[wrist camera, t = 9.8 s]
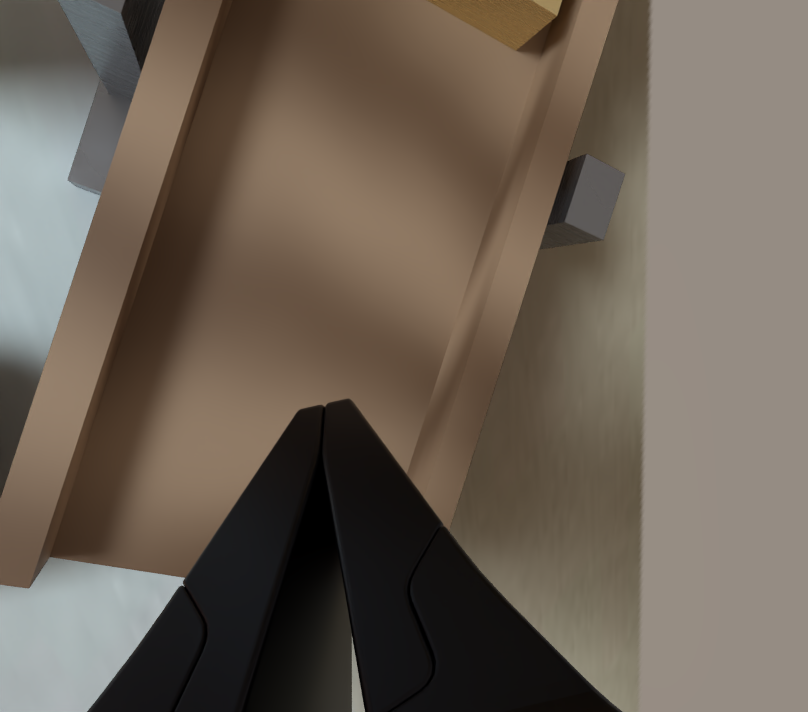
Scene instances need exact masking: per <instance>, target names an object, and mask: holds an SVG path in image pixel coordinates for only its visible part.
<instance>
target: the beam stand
mask: <svg viewBox="0 0 808 712" xmlns="http://www.w3.org/2000/svg"><path fill="white" fill-rule="evenodd" d="M58 1H59V3H60V5H61V7H62V9H63V11H64V12H65V14H66V16H67V18H68V20H69V22H70V23H71V25H72V27H73V29H74V31H75V33H76V35H77V36H78V38H79V40H80V42H81V44H82V46H83V47H84V49H85V51H86V53H87V55H88V57H89V58H90V60H91V62H92V64H93V66H94V68H95V69H96V71H97V73H98V75H99V77H100V82H99V85H98V88H97V91H96V94H95V97H94V100H93V103H92V107H91V110H90V113H89V116H88V119H87V122H86V125H85V128H84V131H83V134H82V137H81V140H80V143H79V146H78V149H77V152H76V155H75V158H74V162H73V165H72V168H71V171H70V174H69V177H68V181H69V182H71V183H72V184H73V185H75V186H76V187H79V188H82V189H85V190H87V191H90V192H93V193H96V194H99V195H101V193H102V190H103V187H104V184H105V181H106V178H107V174H108V171H109V168H110V165H111V162H112V159H113V156H114V153H115V150H116V147H117V144H118V141H119V138H120V135H121V132H122V129H123V126H124V123H125V120H126V117H127V114H128V111H129V108H130V105H131V102H132V99H133V96H134V93H135V90H136V87H137V84H138V81H139V78H140V75H141V72H142V69H143V66H144V62H145V59H146V56H147V53H148V50H149V47H150V44H151V41H152V38H153V35H154V32H155V29H156V26H157V23H158V20H159V17H160V14H161V11H162V8H163V5H164V2H165V0H58ZM624 176H625V174H624V173H622V172H620V171H619V170H617V169H615V168H613V167H611V166H609V165H607V164H605V163H603V162H602V161H600V160H598V159H596V158H594V157H592V156H590V155H588V154H585V155H582V156H580V157H577V158H575V159H572V160H569V161H567V163H566V166H565V169H564V173H563V176H562V179H561V182H560V185H559V188H558V191H557V194H556V198H555V201H554V204H553V207H552V210H551V213H550V216H549V219H548V223H547V226H546V229H545V232H544V235H543V238H542V241H541V245H540V248H539V249H546V248H553V247H559V246H566V245H573V244H580V243H587V242H593V241H600V240H604V237H605V234H606V231H607V228H608V225H609V222H610V219H611V216H612V213H613V209H614V206H615V203H616V200H617V197H618V194H619V191H620V188H621V185H622V182H623V179H624Z"/></svg>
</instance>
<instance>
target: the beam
mask: <svg viewBox="0 0 808 712" xmlns="http://www.w3.org/2000/svg"><path fill="white" fill-rule="evenodd" d="M617 3H618V0H562V2H561V5H560V9H559V12H558V15H557V17H555V18H554V19H553V20H552V21H551V22H549V23H548V24H547V25H546V26H545V27H543V28H542V29H541V30H540V31H539V32H538V33H536V34H535V35H534V36H533V37H532V38H530V39H529V40H528V41H527V42H526V43H525V44H523V45H522V46H521V47H520V48H519V49H517V50H516V51H515V50H513V49H511V48H510V47H508V46H506V45H504V44H502V43H501V42H499V41H497V40H495V39H494V38H492V37H490V36H488V35H487V34H485V33H483V32H481V31H480V30H478V29H476V28H474V27H473V26H471V25H469V24H467V23H466V22H464V21H462V20H460V19H459V18H457V17H455V16H453V15H451V14H450V13H448V12H446V11H444V10H443V9H441V8H439V7H437V6H436V5H434V4H432V3H430V2H429V1H427V0H165V2H164V5H163V8H162V11H161V14H160V17H159V20H158V23H157V26H156V29H155V32H154V35H153V38H152V41H151V44H150V47H149V50H148V53H147V56H146V59H145V62H144V66H143V69H142V72H141V75H140V78H139V81H138V84H137V87H136V90H135V93H134V96H133V99H132V102H131V105H130V108H129V111H128V114H127V117H126V120H125V123H124V126H123V129H122V132H121V135H120V138H119V141H118V144H117V147H116V150H115V153H114V156H113V159H112V162H111V165H110V168H109V171H108V174H107V178H106V181H105V184H104V187H103V190H102V193H101V196H100V199H99V202H98V205H97V208H96V211H95V214H94V217H93V220H92V223H91V226H90V229H89V232H88V235H87V238H86V241H85V244H84V247H83V250H82V253H81V256H80V259H79V262H78V265H77V268H76V271H75V274H74V277H73V280H72V283H71V286H70V290H69V293H68V296H67V299H66V302H65V305H64V308H63V311H62V314H61V317H60V320H59V323H58V326H57V329H56V332H55V335H54V338H53V341H52V344H51V347H50V350H49V353H48V356H47V359H46V362H45V365H44V368H43V371H42V374H41V377H40V380H39V383H38V386H37V389H36V392H35V395H34V398H33V401H32V405H31V408H30V411H29V414H28V417H27V420H26V423H25V426H24V429H23V432H22V435H21V438H20V441H19V444H18V447H17V450H16V453H15V456H14V459H13V462H12V465H11V468H10V471H9V474H8V477H7V480H6V483H5V486H4V489H3V492H2V495H1V498H0V585H7V586H15V587H22V588H30V586H31V585H32V583H33V582H34V580H35V578H36V577H37V575H38V574H39V572H40V571H41V569H42V568H43V566H44V565H45V563H46V562H47V560H48V559H49V557H54V558H60V559H67V560H73V561H80V562H86V563H93V564H99V565H106V566H112V567H119V568H125V569H132V570H139V571H145V572H152V573H158V574H165V575H171V576H178V577H184V578H186V576H187V575H188V573H189V572H190V570H191V569H192V567H193V566H194V564H195V563H196V561H197V560H198V558H199V557H200V555H201V554H202V552H203V551H204V549H205V548H206V546H207V545H208V543H209V542H210V540H211V539H212V537H213V536H214V534H215V533H216V531H217V530H218V528H219V527H220V525H221V524H222V522H223V521H224V520H225V518H226V517H227V515H228V514H229V512H230V511H231V509H232V508H233V506H234V505H235V503H236V502H237V500H238V499H239V497H240V496H241V494H242V493H243V491H244V490H245V488H246V487H247V485H248V484H249V482H250V481H251V479H252V478H253V476H254V475H255V473H256V472H257V470H258V469H259V467H260V466H261V464H262V463H263V462H264V460H265V459H266V457H267V456H268V454H269V453H270V451H271V450H272V448H273V447H274V445H275V444H276V442H277V441H278V439H279V438H280V436H281V435H282V433H283V432H284V430H285V429H286V427H287V426H288V424H289V423H290V421H291V420H292V418H293V417H294V415H295V414H296V413H297V411H298V410H300V409H302V408H307V407H311V406H316V405H324V406H326V404H328V403H329V402H334V401H338V400H342V399H347V398H349V399H351V400H352V401H353V402H354V403H355V405H356V406H357V407H358V409H359V410H360V412H361V413H362V414H363V416H364V417H365V418H366V420H367V421H368V422H369V424H370V425H371V426H372V428H373V429H374V430H375V432H376V433H377V435H378V436H379V437H380V439H381V440H382V441H383V443H384V444H385V445H386V447H387V448H388V449H389V451H390V452H391V454H392V455H393V456H394V458H395V459H396V460H397V462H398V463H399V464H400V466H401V467H402V468H403V470H404V471H405V473H406V474H407V475H408V477H409V478H410V479H411V481H412V482H413V483H414V485H415V486H416V487H417V489H418V490H419V491H420V493H421V494H422V496H423V497H424V498H425V500H426V501H427V502H428V504H429V505H430V506H431V508H432V509H433V510H434V512H435V513H436V515H437V516H438V517H439V519H440V520H441V521H442V523H443V525H444V526H445V527H446V528H447V529H448V530H450V526H451V523H452V520H453V517H454V514H455V511H456V508H457V504H458V501H459V498H460V495H461V492H462V489H463V486H464V483H465V479H466V476H467V473H468V470H469V467H470V464H471V461H472V457H473V454H474V451H475V448H476V445H477V442H478V439H479V436H480V432H481V429H482V426H483V423H484V420H485V417H486V414H487V411H488V407H489V404H490V401H491V398H492V395H493V392H494V389H495V385H496V382H497V379H498V376H499V373H500V370H501V367H502V364H503V360H504V357H505V354H506V351H507V348H508V345H509V342H510V338H511V335H512V332H513V329H514V326H515V323H516V320H517V317H518V313H519V310H520V307H521V304H522V301H523V298H524V295H525V292H526V288H527V285H528V282H529V279H530V276H531V273H532V270H533V266H534V263H535V260H536V257H537V254H538V251H539V248H540V245H541V241H542V238H543V235H544V232H545V229H546V226H547V223H548V219H549V216H550V213H551V210H552V207H553V204H554V201H555V198H556V194H557V191H558V188H559V185H560V182H561V179H562V176H563V173H564V169H565V166H566V163H567V160H568V157H569V154H570V151H571V147H572V144H573V141H574V138H575V135H576V132H577V129H578V126H579V122H580V119H581V116H582V113H583V110H584V107H585V104H586V100H587V97H588V94H589V91H590V88H591V85H592V82H593V79H594V75H595V72H596V69H597V66H598V63H599V60H600V57H601V53H602V50H603V47H604V44H605V41H606V38H607V35H608V32H609V28H610V25H611V22H612V19H613V16H614V13H615V10H616V7H617Z"/></svg>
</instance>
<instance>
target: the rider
mask: <svg viewBox="0 0 808 712" xmlns="http://www.w3.org/2000/svg"><path fill="white" fill-rule="evenodd" d="M427 1H429V2H430V3H432V4H434V5H436V6H437V7H439V8H441V9H443V10H444V11H446V12H448V13H450V14H451V15H453V16H455V17H457V18H459V19H460V20H462V21H464V22H466V23H467V24H469V25H471V26H473V27H474V28H476V29H478V30H480V31H481V32H483V33H485V34H487V35H488V36H490V37H492V38H494V39H495V40H497V41H499V42H501V43H502V44H504V45H506V46H508V47H510V48H511V49H513V50H515V51H516V50H517V49H519V48H520V47H521V46H522V45H523V44H525V43H526V42H527V41H528V40H529V39H530V38H532V37H533V36H534V35H535V34H536V33H538V32H539V31H540V30H541V29H542V28H543V27H545V26H546V25H547V24H548V23H549V22H551V21H552V20H553V19H554V18H555V17H557V15H558V12H559V9H560V5H561V2H562V0H427Z"/></svg>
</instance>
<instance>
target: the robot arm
mask: <svg viewBox="0 0 808 712" xmlns="http://www.w3.org/2000/svg"><path fill="white" fill-rule="evenodd" d="M183 585H184V586H185V587H184V586H180V587H179V588H178V589H177V591H176V592H175V593H174V595H173V596H172V598H171V599H170V601H169V602H168V604H167V605H166V607H165V608H164V610H163V611H162V613H161V614H160V616H159V617H158V618H157V620H156V621H155V623H154V624H153V625H152V627H151V628H150V630H149V631H148V633H147V634H146V635H145V637H144V638H143V640H142V641H141V642H140V644H139V645H138V647H137V648H136V650H135V651H134V652H133V653H132V655H131V656H130V657H129V659H128V660H127V661H126V663H125V664H124V665H123V666H122V668H121V669H120V670H119V672H118V673H117V674H116V676H115V677H114V678H113V679H112V681H111V682H110V683H109V685H108V686H107V687H106V689H105V690H104V691H103V693H102V694H101V695H100V696H99V698H98V699H97V700H96V701H95V703H94V704H93V705H92V706H91V708H90V709H89V710H88V711H87V712H352V638H353V644H354V649H355V655H356V661H357V667H358V673H359V679H360V685H361V690H362V696H363V702H364V708H365V712H622V711H621V710H620V709H618V708H617V707H616V706H615V705H613V704H612V703H611V702H610V701H609V700H608V699H607V698H605V697H604V696H603V695H602V694H601V693H600V692H599V691H598V690H597V689H595V688H594V687H593V686H592V685H591V684H590V683H589V682H588V681H587V680H586V679H585V678H584V677H583V676H582V675H581V674H580V673H579V672H578V671H577V670H576V669H575V668H574V667H573V666H572V665H571V664H570V663H569V662H568V661H567V660H566V659H565V658H564V657H563V656H562V655H561V654H560V653H559V652H558V651H557V650H556V649H555V648H554V647H553V646H552V645H551V644H550V643H549V642H548V641H547V640H546V639H545V638H544V637H543V636H542V635H541V634H540V633H539V632H538V631H537V630H536V629H535V628H534V627H533V626H532V625H531V624H530V623H529V622H528V621H527V620H526V619H525V618H524V617H523V616H522V615H521V614H520V613H519V612H518V611H517V610H516V609H515V608H514V607H513V606H512V605H511V604H510V603H509V602H508V601H507V600H506V598H505V597H504V596H503V595H502V594H501V593H500V592H499V591H498V590H497V589H496V588H495V587H494V585H493V584H492V583H491V582H490V581H489V580H488V579H487V578H486V577H485V576H484V575H483V574H482V572H481V571H480V570H479V569H478V568H477V566H476V565H475V564H474V563H473V561H472V560H471V559H470V558H469V556H468V555H467V554H466V553H465V551H464V550H463V549H462V548H461V546H460V545H459V544H458V542H457V541H456V540H455V538H454V537H453V536H452V534H451V533H450V532H449V530H448V529H447V528H446V527H445V526H444V525H443V523H442V521H441V520H440V519H439V517H438V516H437V515H436V513H435V512H434V510H433V509H432V508H431V506H430V505H429V504H428V502H427V501H426V500H425V498H424V497H423V496H422V494H421V493H420V491H419V490H418V489H417V487H416V486H415V485H414V483H413V482H412V481H411V479H410V478H409V477H408V475H407V474H406V473H405V471H404V470H403V468H402V467H401V466H400V464H399V463H398V462H397V460H396V459H395V458H394V456H393V455H392V454H391V452H390V451H389V449H388V448H387V447H386V445H385V444H384V443H383V441H382V440H381V439H380V437H379V436H378V435H377V433H376V432H375V430H374V429H373V428H372V426H371V425H370V424H369V422H368V421H367V420H366V418H365V417H364V416H363V414H362V413H361V412H360V410H359V409H358V407H357V406H356V405H355V403H354V402H353V401H352V400H351V399H349V398H347V399H342V400H338V401H334V402H329V403H328V404H326V406H324V405H316V406H311V407H307V408H302V409H300V410H298V411H297V413H296V414H295V415H294V417H293V418H292V420H291V421H290V423H289V424H288V426H287V427H286V429H285V430H284V432H283V433H282V435H281V436H280V438H279V439H278V441H277V442H276V444H275V445H274V447H273V448H272V450H271V451H270V453H269V454H268V456H267V457H266V459H265V460H264V462H263V463H262V464H261V466H260V467H259V469H258V470H257V472H256V473H255V475H254V476H253V478H252V479H251V481H250V482H249V484H248V485H247V487H246V488H245V490H244V491H243V493H242V494H241V496H240V497H239V499H238V500H237V502H236V503H235V505H234V506H233V508H232V509H231V511H230V512H229V514H228V515H227V517H226V518H225V520H224V521H223V522H222V524H221V525H220V527H219V528H218V530H217V531H216V533H215V534H214V536H213V537H212V539H211V540H210V542H209V543H208V545H207V546H206V548H205V549H204V551H203V552H202V554H201V555H200V557H199V558H198V560H197V561H196V563H195V564H194V566H193V567H192V569H191V570H190V572H189V573H188V575H187V576H186V578H185V579H184V581H183Z"/></svg>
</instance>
